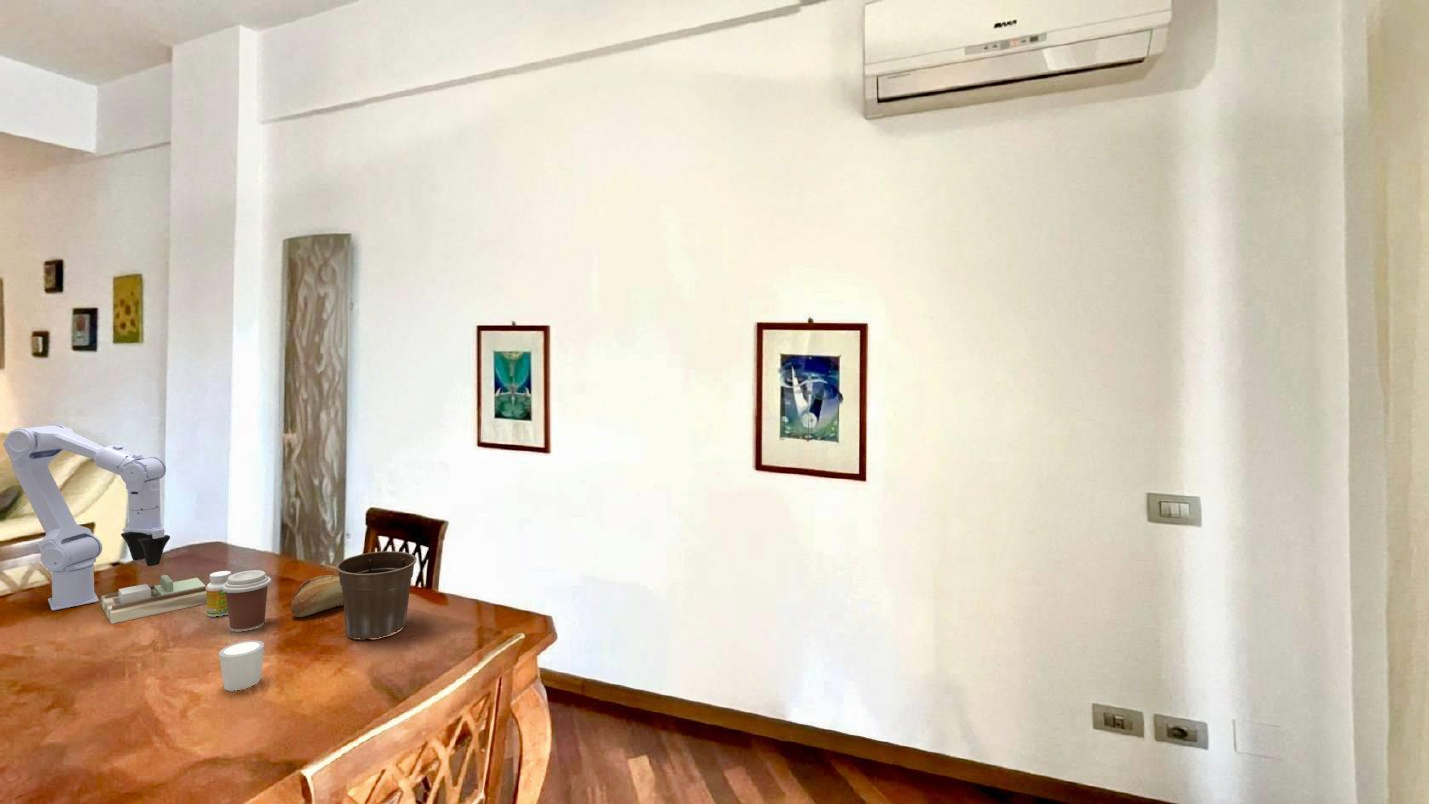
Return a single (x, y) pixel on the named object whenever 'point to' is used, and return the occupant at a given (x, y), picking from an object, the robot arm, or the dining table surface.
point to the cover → (176, 585)
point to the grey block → (134, 593)
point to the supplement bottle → (217, 594)
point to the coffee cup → (246, 599)
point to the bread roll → (317, 595)
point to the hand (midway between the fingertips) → (146, 562)
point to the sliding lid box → (150, 604)
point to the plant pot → (375, 592)
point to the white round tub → (241, 664)
